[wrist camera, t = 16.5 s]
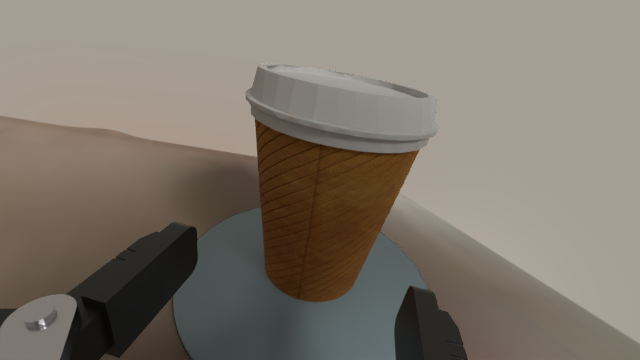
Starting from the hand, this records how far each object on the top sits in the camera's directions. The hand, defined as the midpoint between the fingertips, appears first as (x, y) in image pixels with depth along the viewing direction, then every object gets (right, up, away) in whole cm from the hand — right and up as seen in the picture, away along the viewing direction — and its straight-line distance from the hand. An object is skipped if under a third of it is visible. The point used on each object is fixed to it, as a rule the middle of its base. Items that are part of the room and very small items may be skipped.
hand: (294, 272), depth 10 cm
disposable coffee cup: (0, -2, +9) cm, 9 cm away
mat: (0, -3, +8) cm, 9 cm away
